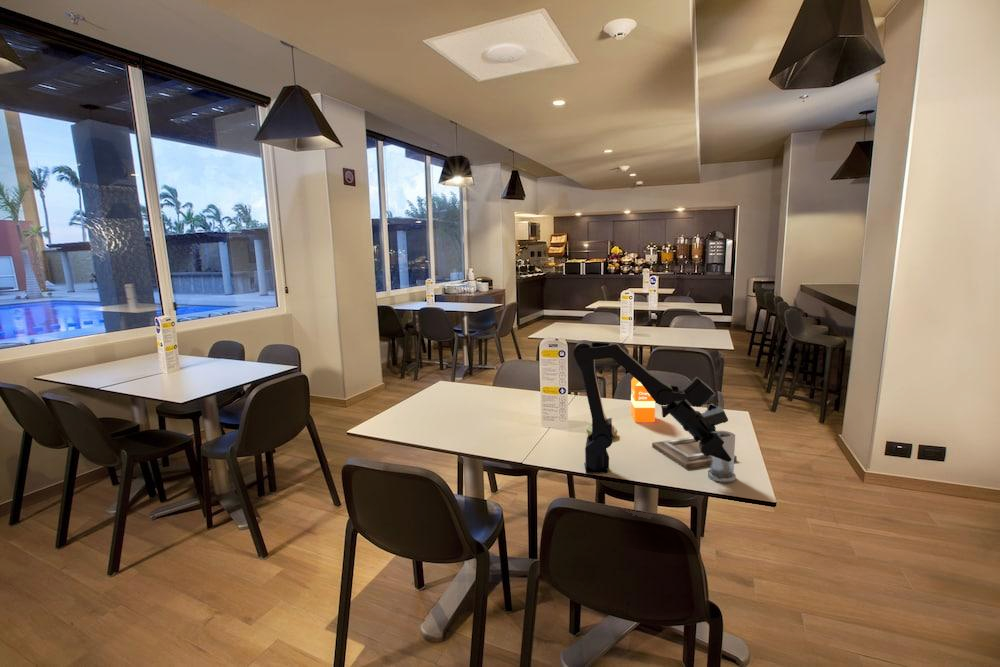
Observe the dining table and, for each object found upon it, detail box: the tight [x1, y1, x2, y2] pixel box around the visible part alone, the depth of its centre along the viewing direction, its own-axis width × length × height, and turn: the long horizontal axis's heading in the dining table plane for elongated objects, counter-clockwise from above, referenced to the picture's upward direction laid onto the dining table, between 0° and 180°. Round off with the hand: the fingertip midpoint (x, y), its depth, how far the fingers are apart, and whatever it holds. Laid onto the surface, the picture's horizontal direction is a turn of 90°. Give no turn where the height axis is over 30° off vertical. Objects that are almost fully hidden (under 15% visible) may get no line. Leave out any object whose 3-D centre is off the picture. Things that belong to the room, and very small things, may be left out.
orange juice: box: [630, 376, 656, 423], centre depth 187 cm, size 8×9×20 cm
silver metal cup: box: [707, 430, 737, 484], centre depth 136 cm, size 7×7×13 cm
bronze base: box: [651, 436, 738, 470], centre depth 154 cm, size 18×18×2 cm
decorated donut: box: [586, 423, 618, 440], centre depth 172 cm, size 10×11×4 cm
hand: (727, 456), depth 136 cm, fingers open, 6 cm apart
